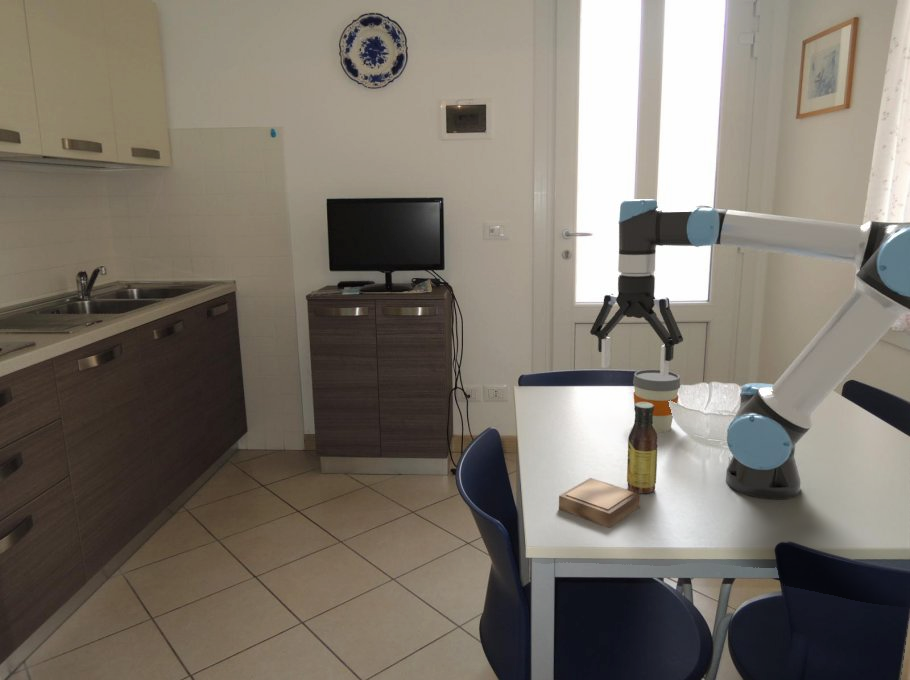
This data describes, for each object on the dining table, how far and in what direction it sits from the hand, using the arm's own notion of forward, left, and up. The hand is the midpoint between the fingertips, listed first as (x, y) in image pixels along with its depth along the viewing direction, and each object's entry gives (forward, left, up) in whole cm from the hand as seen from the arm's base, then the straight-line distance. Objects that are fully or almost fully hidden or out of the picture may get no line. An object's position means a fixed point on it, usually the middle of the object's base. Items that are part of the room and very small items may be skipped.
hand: (634, 370), depth 146 cm
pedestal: (-1, +15, -26) cm, 30 cm away
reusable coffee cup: (+14, -38, -27) cm, 48 cm away
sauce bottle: (-3, +1, -27) cm, 27 cm away
